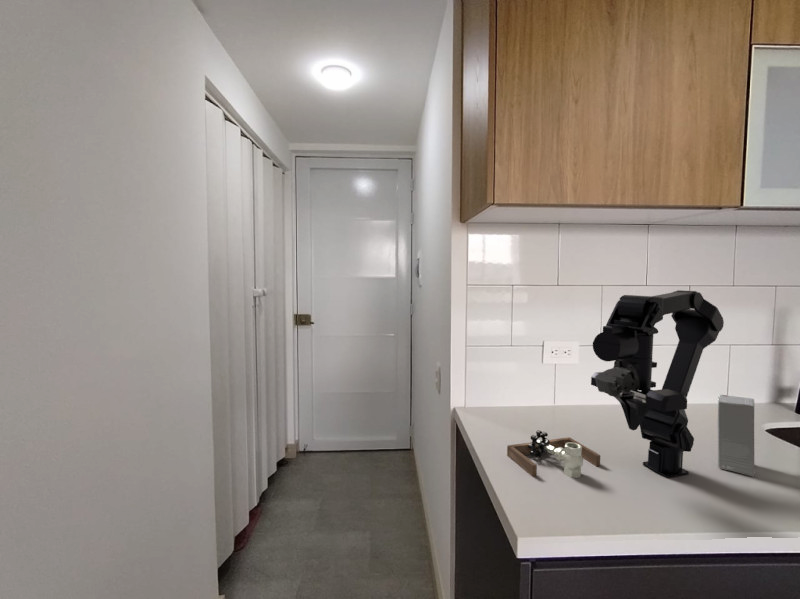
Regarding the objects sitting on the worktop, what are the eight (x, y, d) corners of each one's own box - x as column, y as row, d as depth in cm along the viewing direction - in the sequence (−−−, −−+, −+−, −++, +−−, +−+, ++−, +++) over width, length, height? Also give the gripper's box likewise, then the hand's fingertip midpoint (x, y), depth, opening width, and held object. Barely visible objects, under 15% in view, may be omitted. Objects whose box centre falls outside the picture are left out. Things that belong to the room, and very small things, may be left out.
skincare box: (754, 478, 87) (759, 407, 86) (713, 467, 92) (717, 400, 91) (753, 464, 94) (758, 398, 92) (715, 454, 98) (719, 391, 97)
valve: (590, 474, 89) (546, 453, 99) (591, 445, 88) (546, 427, 99) (571, 482, 86) (527, 459, 96) (572, 452, 85) (528, 432, 95)
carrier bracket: (569, 446, 103) (569, 437, 102) (599, 465, 93) (600, 455, 92) (507, 455, 98) (507, 445, 98) (532, 476, 88) (532, 465, 87)
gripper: (572, 349, 89) (569, 417, 90) (644, 369, 71) (640, 454, 72) (612, 347, 92) (609, 412, 93) (691, 365, 74) (686, 446, 75)
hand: (632, 429), depth 84 cm, fingers closed
